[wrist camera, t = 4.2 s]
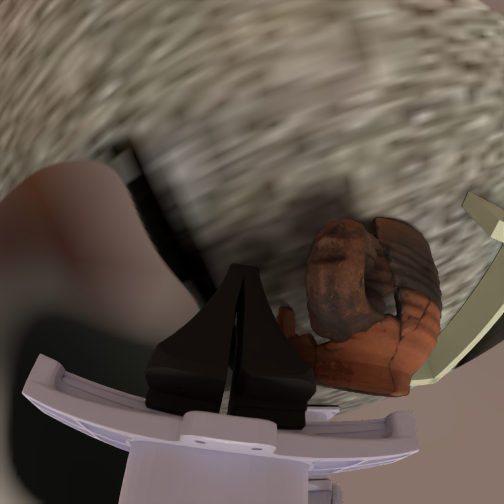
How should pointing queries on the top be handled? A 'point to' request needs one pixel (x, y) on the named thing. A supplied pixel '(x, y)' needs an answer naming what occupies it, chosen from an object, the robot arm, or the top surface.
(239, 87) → the top surface
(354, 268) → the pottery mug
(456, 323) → the tray
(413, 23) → the top surface
